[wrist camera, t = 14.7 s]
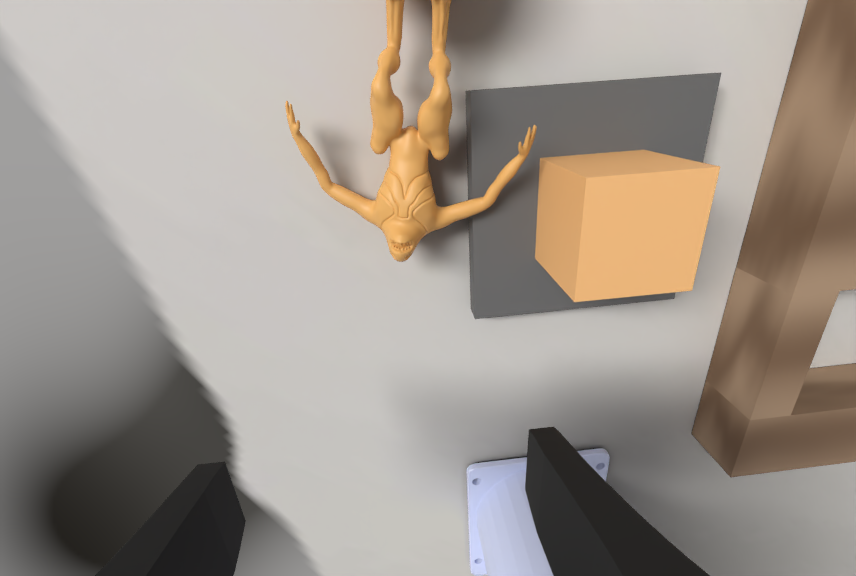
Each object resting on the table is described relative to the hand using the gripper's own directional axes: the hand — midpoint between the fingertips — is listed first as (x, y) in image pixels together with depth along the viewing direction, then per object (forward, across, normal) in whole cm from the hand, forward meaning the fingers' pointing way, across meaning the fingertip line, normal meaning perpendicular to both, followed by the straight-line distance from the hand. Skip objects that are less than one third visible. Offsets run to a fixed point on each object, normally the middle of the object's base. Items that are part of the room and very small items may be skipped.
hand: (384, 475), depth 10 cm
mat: (+9, -8, -4) cm, 13 cm away
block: (+8, -8, -4) cm, 12 cm away
